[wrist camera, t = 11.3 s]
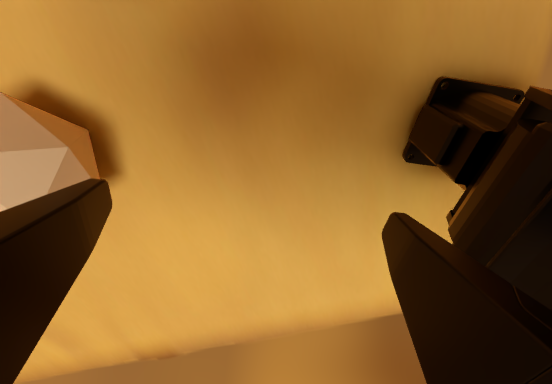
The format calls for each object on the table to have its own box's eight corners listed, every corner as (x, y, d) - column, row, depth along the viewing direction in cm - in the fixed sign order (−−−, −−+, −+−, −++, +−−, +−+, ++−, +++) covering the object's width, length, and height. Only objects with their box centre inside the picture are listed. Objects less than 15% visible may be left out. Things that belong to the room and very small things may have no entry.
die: (22, 181, 24) (36, 278, 19) (-124, 113, 16) (-155, 248, 12) (107, 132, 25) (139, 215, 20) (7, 44, 17) (23, 147, 13)
